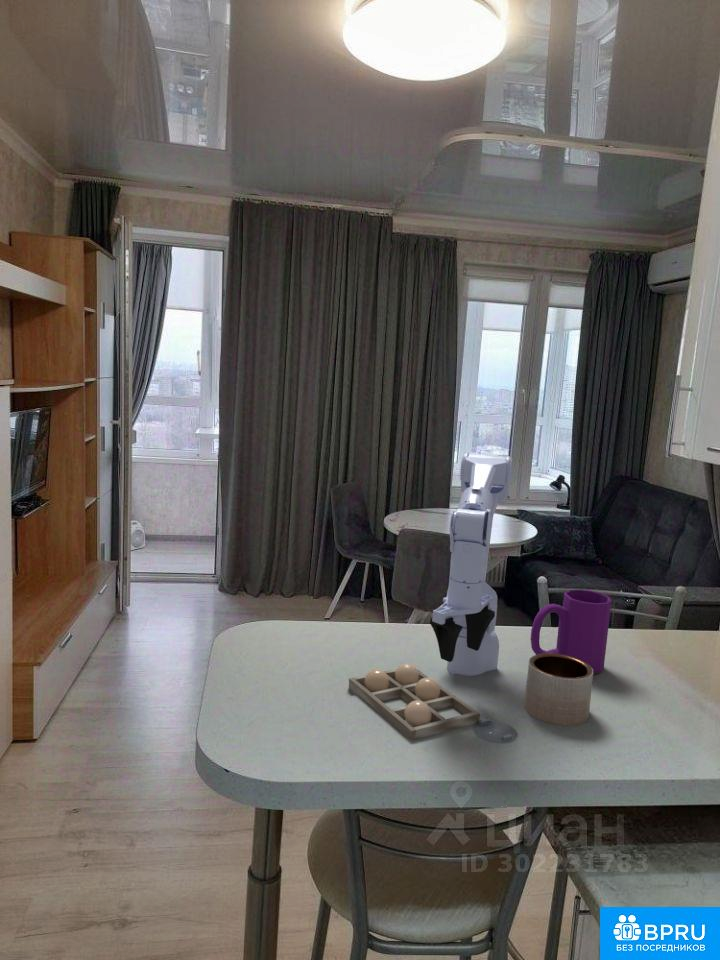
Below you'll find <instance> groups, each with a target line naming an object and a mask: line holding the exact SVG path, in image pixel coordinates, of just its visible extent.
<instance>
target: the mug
mask: <svg viewBox="0 0 720 960" xmlns="http://www.w3.org/2000/svg"><path fill="white" fill-rule="evenodd" d="M611 609H612V600H611V598H610V597H609V596H607V595H605V594H603V593H601V592H597V591H593V590H589V589H587V590H586V589H585V590H584V589H570V590H567V591H566V592H564V593H563V603H562V605H560V604H556V603H550V604H546V605H544V606H543V607H541V609H539V611H537V614H536V615H535V617H534V620H533V623H532V626H531V629H530V631H531V632H530V644H531V646H530V647H531V650H532V651H533V653H534V654H535V655H538V654H543V653H555V654H563V655H567V656H571V657H574V658H577V659H580V660H582V661H584V662H586V663H587V664H588V665H590V666H591V667H592V669H593V675H597V674H599V673H601V672H602V671H604V669H605V661H606V653H607V645H608V644H607V643H608V635H609V625H610V618H611V617H610V616H611ZM550 613H555V614H557V615H558V616H559V617H558V627H557V639H556V647H555V648H553V649H549V650H545V649H542V648H541V646H540V645H541V644H540V637H541V636H540V635H541V629H542V626H543V622H544V620H545V618H546V617H547V616H548V615H549V614H550Z"/></svg>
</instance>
